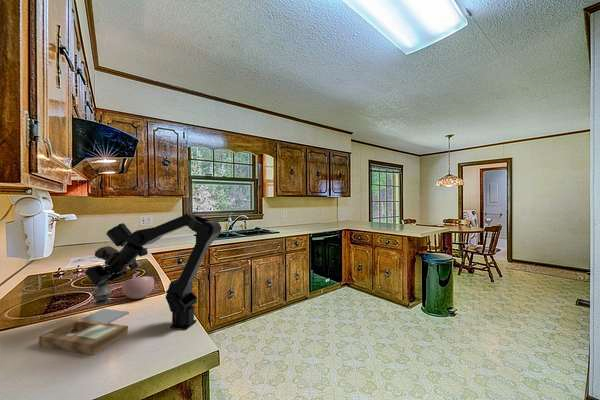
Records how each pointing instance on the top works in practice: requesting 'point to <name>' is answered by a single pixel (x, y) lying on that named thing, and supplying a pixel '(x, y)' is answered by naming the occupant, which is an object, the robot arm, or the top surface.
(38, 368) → the top surface
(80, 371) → the top surface
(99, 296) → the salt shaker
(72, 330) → the puzzle board
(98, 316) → the slate tile
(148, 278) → the mortar and pestle
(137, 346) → the top surface
